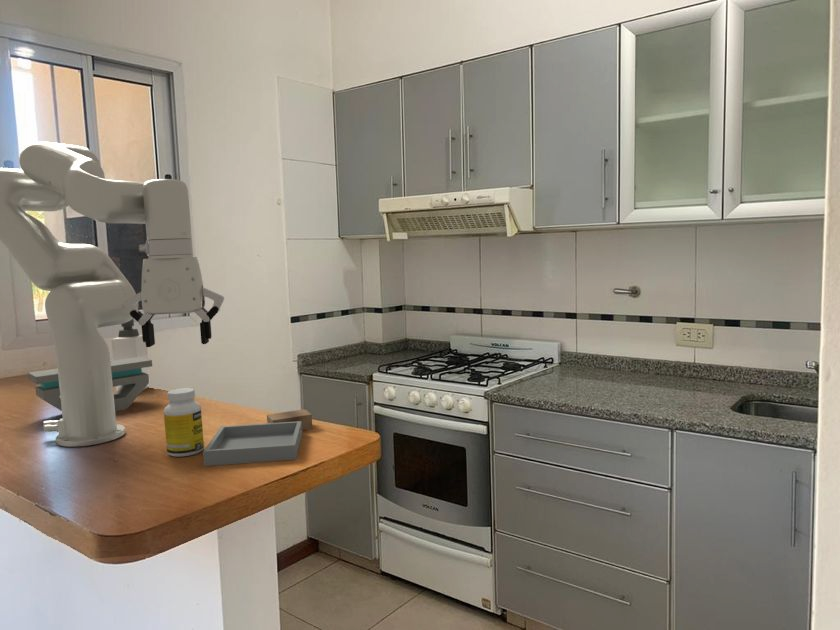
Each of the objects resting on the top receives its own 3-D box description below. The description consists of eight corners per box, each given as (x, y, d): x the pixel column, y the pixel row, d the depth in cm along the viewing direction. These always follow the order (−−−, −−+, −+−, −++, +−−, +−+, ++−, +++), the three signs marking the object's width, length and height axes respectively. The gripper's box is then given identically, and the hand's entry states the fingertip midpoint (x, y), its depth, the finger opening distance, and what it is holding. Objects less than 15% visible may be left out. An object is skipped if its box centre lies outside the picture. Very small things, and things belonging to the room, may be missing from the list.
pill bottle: (192, 458, 116) (187, 395, 114) (159, 457, 117) (154, 394, 116) (210, 447, 122) (206, 386, 121) (180, 446, 123) (175, 386, 122)
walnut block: (273, 435, 128) (272, 420, 128) (267, 429, 133) (266, 414, 132) (312, 428, 132) (311, 414, 131) (305, 423, 136) (304, 409, 136)
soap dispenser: (111, 394, 171) (104, 312, 169) (127, 387, 180) (120, 308, 178) (136, 393, 171) (128, 311, 169) (150, 386, 180) (143, 307, 178)
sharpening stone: (40, 425, 143) (35, 376, 141) (33, 419, 148) (28, 372, 147) (155, 403, 159) (151, 360, 158) (144, 398, 165) (140, 356, 164)
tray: (204, 466, 111) (203, 451, 111) (221, 439, 127) (221, 426, 126) (295, 459, 113) (294, 445, 112) (302, 433, 128) (301, 421, 128)
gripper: (112, 252, 111) (121, 350, 113) (215, 248, 112) (222, 345, 114) (127, 251, 118) (135, 344, 120) (224, 248, 120) (230, 339, 122)
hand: (178, 344), depth 117 cm, fingers open, 9 cm apart
